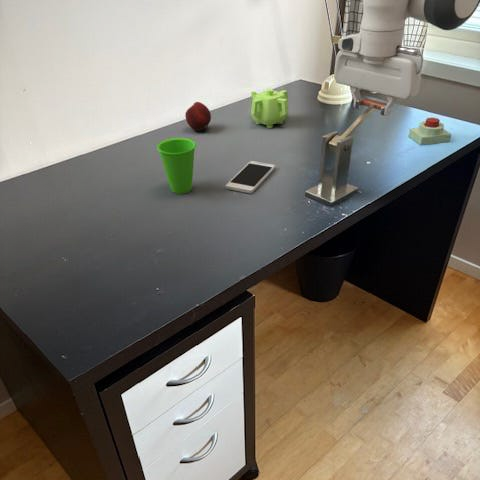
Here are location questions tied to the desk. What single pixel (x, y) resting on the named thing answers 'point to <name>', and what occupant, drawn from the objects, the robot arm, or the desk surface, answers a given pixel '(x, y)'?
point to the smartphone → (250, 177)
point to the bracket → (333, 172)
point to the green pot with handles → (269, 107)
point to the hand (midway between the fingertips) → (371, 111)
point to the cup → (178, 163)
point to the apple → (198, 116)
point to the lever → (357, 121)
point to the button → (432, 122)
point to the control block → (429, 134)
